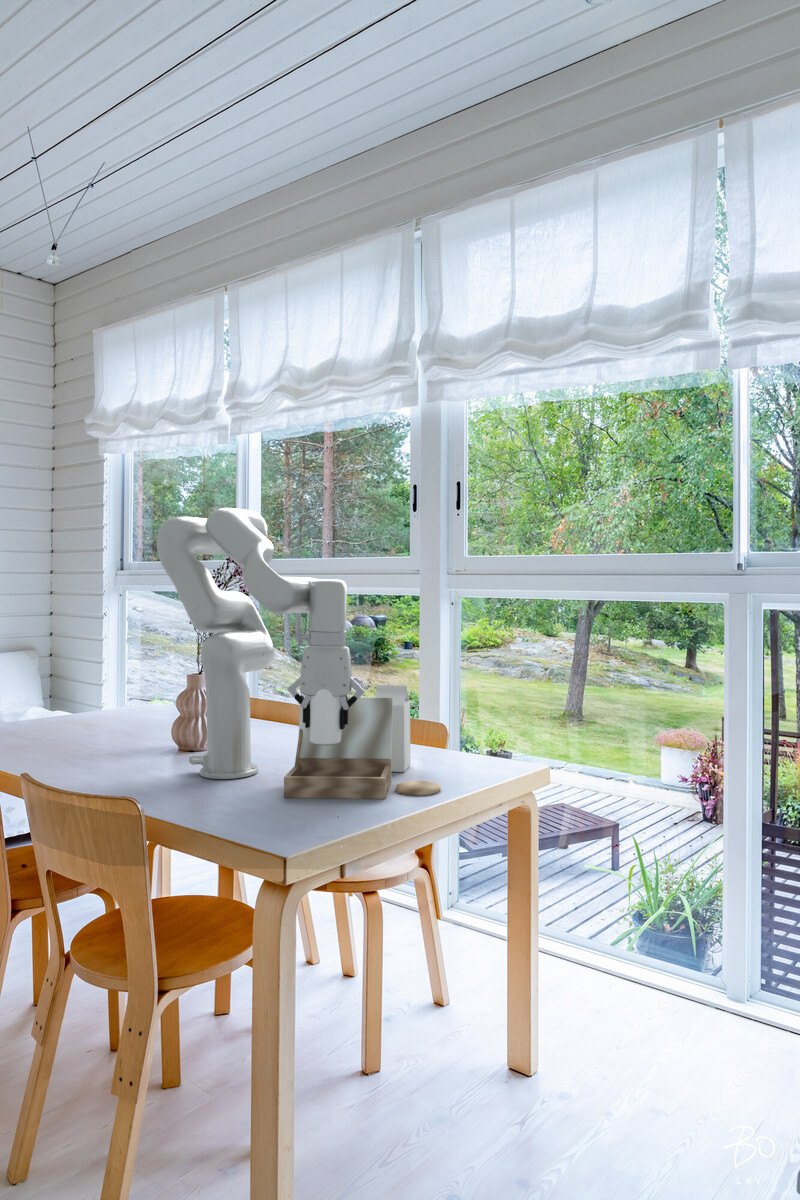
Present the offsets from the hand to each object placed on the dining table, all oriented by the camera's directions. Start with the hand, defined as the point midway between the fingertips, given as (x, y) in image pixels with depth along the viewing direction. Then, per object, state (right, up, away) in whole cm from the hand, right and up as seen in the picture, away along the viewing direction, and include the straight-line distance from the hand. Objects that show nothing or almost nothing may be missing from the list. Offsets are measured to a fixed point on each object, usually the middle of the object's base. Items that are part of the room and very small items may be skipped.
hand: (325, 726), depth 163 cm
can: (0, -3, 0) cm, 3 cm away
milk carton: (+13, -13, +18) cm, 26 cm away
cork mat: (+19, -13, -1) cm, 23 cm away
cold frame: (+3, -13, +2) cm, 13 cm away
